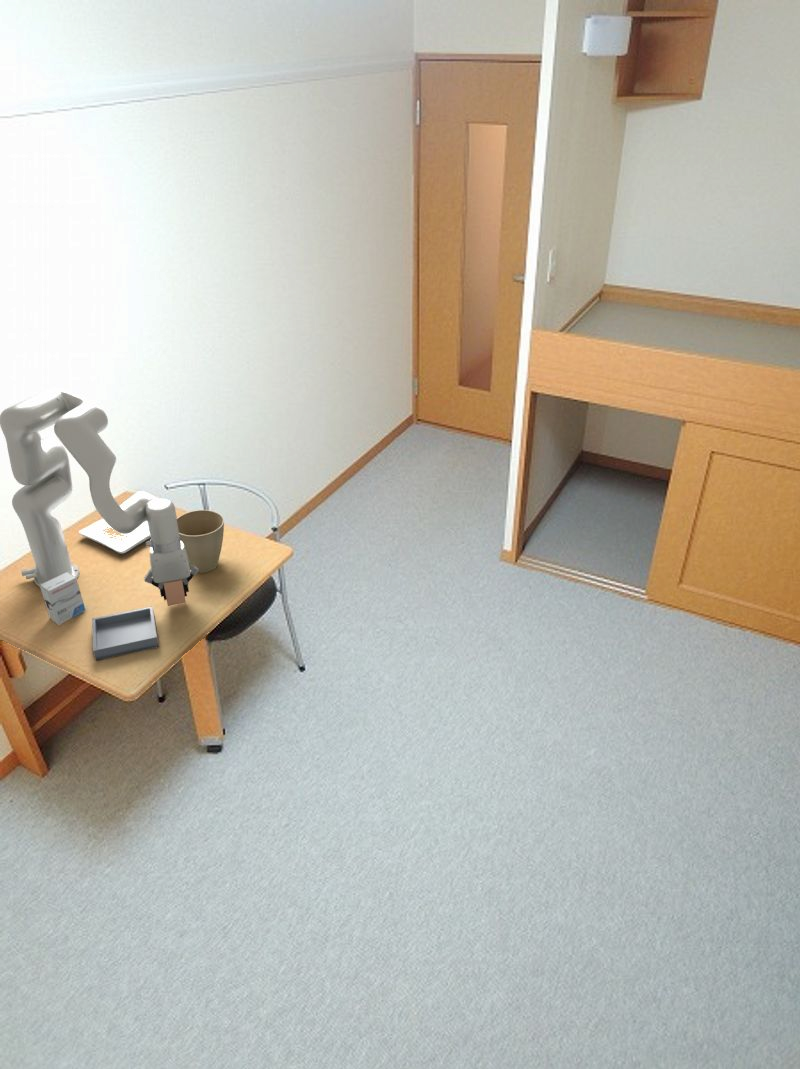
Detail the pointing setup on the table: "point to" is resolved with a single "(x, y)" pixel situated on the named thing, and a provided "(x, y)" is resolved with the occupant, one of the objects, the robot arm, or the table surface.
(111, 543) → the salad plate
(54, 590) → the ink box
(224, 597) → the table surface
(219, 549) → the plant pot
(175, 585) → the terracotta block
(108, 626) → the tray
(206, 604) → the table surface
